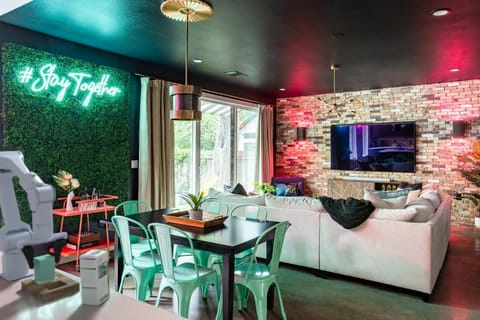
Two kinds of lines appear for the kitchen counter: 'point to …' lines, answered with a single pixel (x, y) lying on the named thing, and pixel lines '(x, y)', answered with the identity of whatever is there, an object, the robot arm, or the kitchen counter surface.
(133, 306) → the kitchen counter surface
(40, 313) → the kitchen counter surface
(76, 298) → the kitchen counter surface
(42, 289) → the pocket plate
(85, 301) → the syrup box
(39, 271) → the teal block
